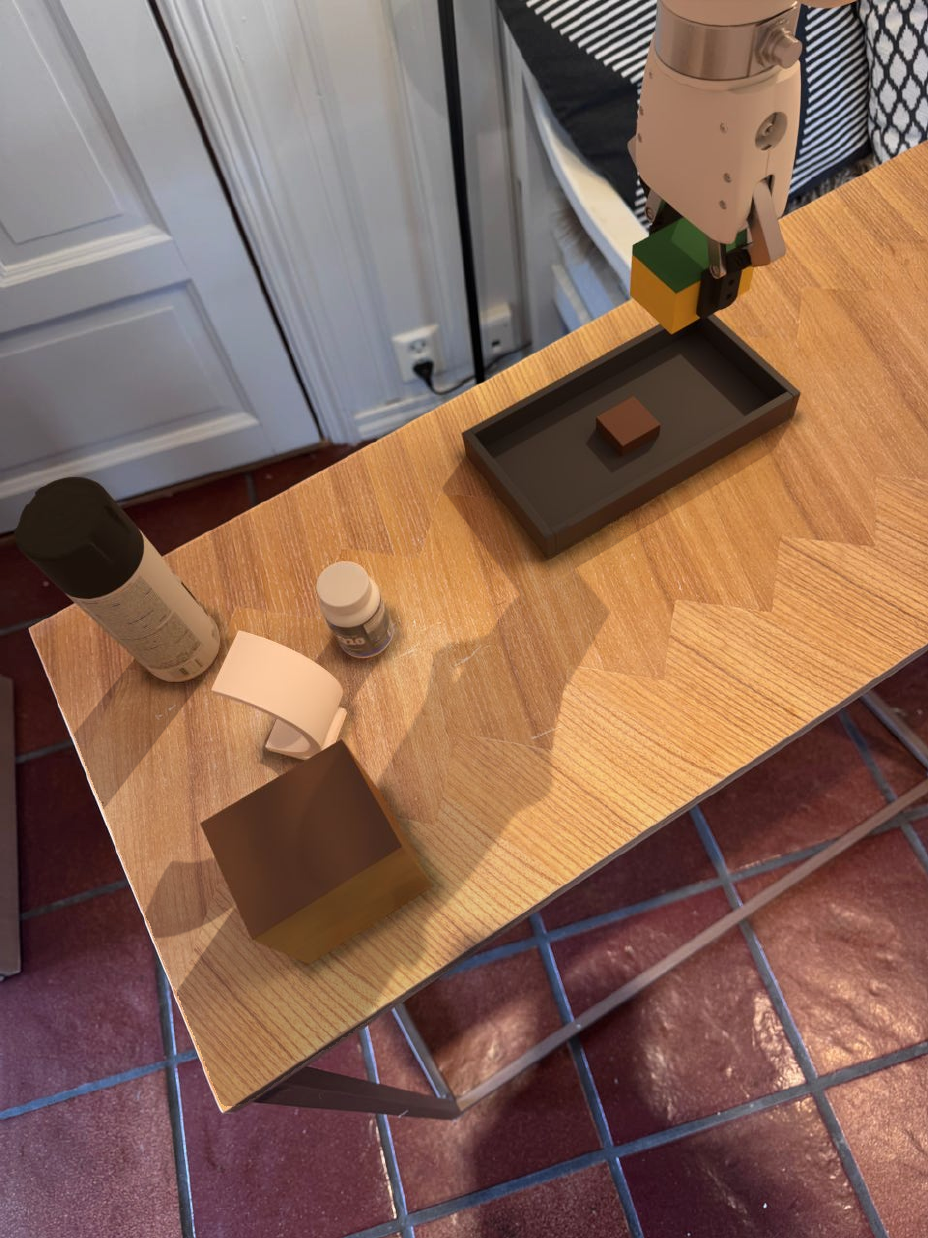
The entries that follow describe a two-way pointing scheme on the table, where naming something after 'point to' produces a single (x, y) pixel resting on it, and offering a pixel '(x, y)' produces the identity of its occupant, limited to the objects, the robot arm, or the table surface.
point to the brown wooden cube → (314, 856)
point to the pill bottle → (354, 609)
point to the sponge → (673, 273)
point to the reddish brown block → (627, 426)
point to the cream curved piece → (284, 694)
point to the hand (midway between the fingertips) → (690, 283)
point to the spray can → (117, 577)
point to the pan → (616, 485)
